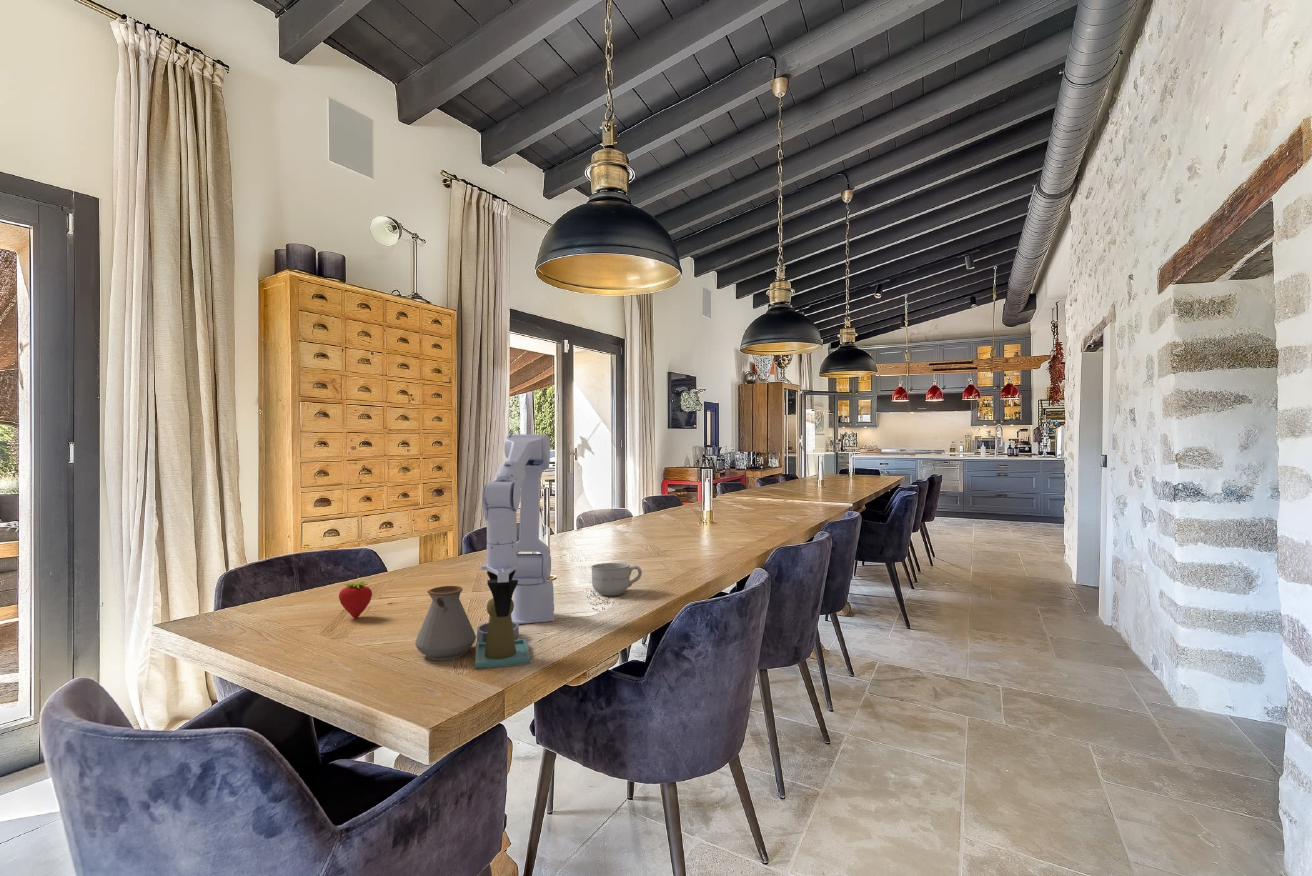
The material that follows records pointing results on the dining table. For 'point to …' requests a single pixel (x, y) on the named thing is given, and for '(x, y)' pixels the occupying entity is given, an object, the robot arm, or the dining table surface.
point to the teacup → (613, 577)
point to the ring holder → (483, 631)
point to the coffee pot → (445, 626)
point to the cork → (499, 634)
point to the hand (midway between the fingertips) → (502, 610)
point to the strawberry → (355, 598)
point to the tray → (517, 659)
